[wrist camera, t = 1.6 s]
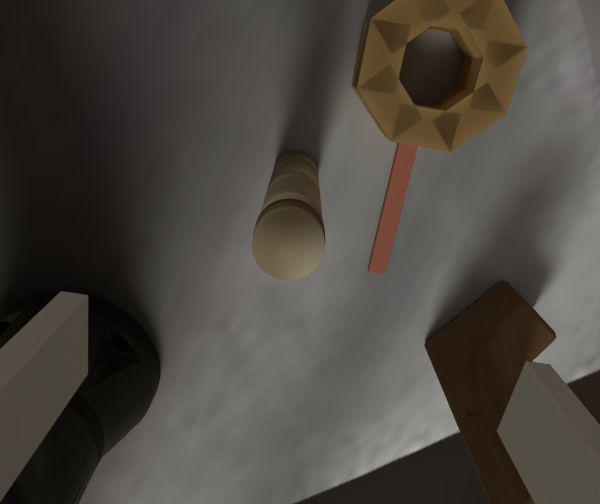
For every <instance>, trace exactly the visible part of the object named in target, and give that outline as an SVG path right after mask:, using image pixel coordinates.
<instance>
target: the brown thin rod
mask: <svg viewBox="0 0 600 504" xmlns="http://www.w3.org/2000/svg"><path fill="white" fill-rule="evenodd" d="M416 149H417V146H415V145H409V144H404V143H398V145H397V149H396V153H395V158H394V162H393V166H392V170H391V174H390V178H389V183H388V187H387V191H386V195H385V199H384V204H383V208H382V212H381V216H380V220H379V225H378V229H377V233H376V237H375V241H374V246H373V250H372V254H371V258H370V262H369V266H368V272H375V273H381V274H385V271H386V267H387V263H388V259H389V255H390V251H391V248H392V244H393V240H394V236H395V232H396V228H397V224H398V220H399V216H400V212H401V208H402V204H403V200H404V196H405V192H406V189H407V185H408V181H409V177H410V173H411V169H412V165H413V161H414V157H415V153H416Z"/></svg>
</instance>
